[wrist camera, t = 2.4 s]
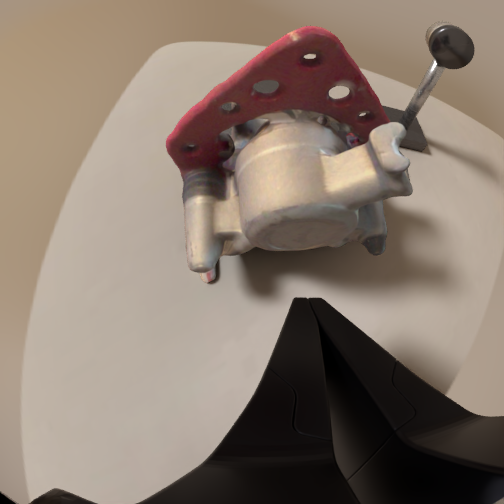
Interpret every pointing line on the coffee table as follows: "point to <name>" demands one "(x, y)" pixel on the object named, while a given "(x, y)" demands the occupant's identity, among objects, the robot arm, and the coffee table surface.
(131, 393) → the coffee table surface
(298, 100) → the brake caliper
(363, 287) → the coffee table surface
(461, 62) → the stand
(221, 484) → the robot arm
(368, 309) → the coffee table surface
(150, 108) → the coffee table surface
